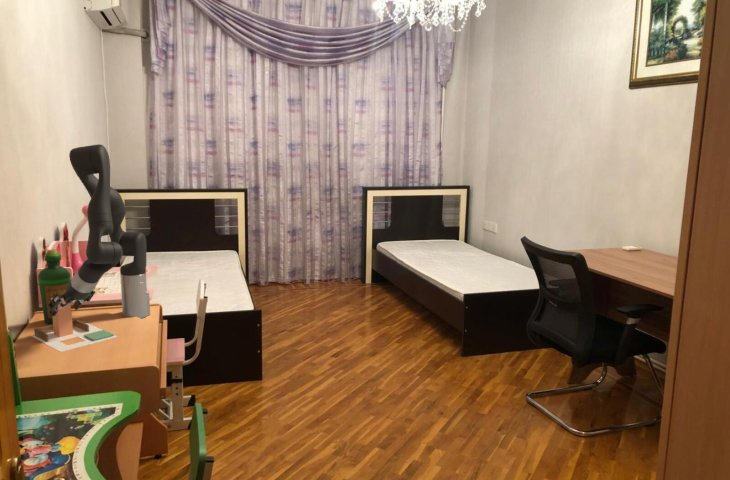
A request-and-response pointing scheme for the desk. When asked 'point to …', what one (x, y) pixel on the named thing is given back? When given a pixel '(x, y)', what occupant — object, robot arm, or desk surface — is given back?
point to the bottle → (52, 282)
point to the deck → (77, 332)
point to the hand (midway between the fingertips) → (63, 310)
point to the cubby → (47, 329)
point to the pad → (98, 335)
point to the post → (63, 321)
